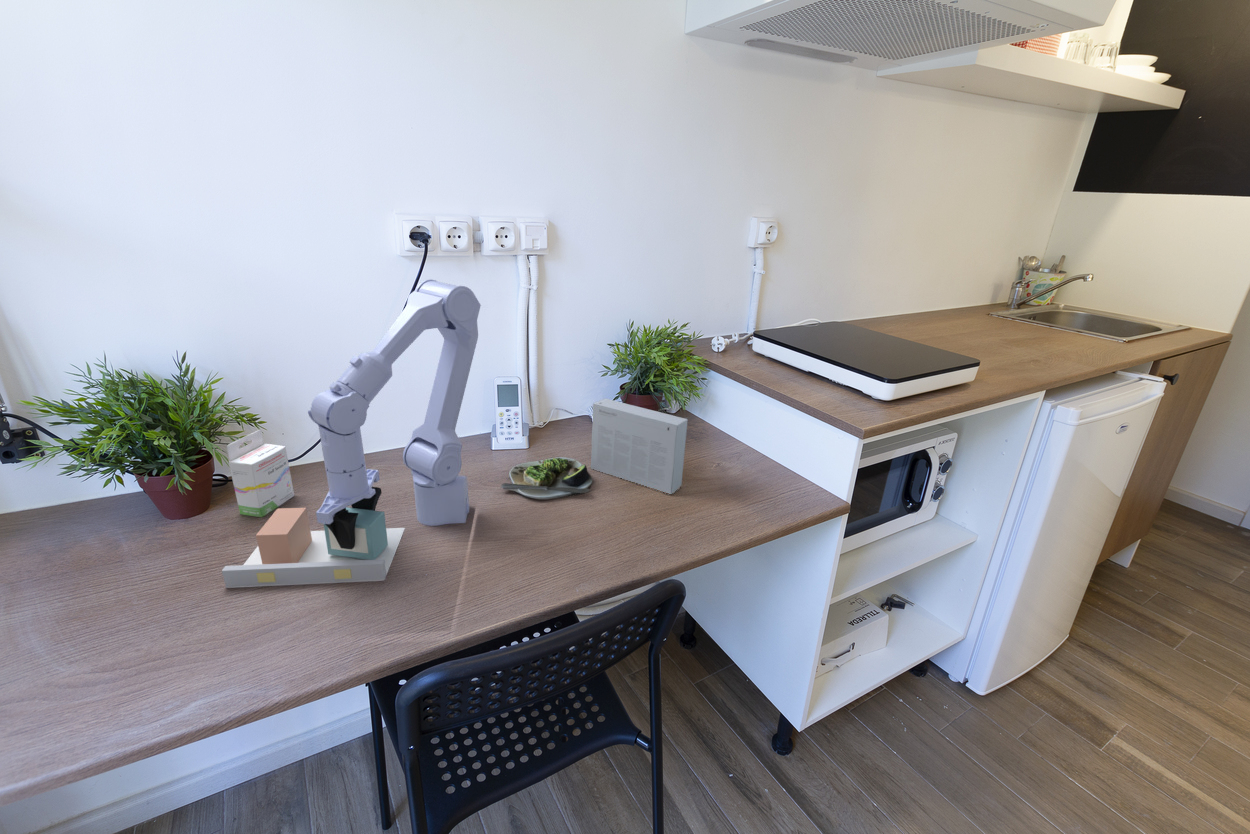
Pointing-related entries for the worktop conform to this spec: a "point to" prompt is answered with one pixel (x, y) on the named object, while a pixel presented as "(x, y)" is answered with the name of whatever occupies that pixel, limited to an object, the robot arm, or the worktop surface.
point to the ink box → (259, 475)
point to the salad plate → (550, 478)
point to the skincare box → (638, 444)
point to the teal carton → (362, 536)
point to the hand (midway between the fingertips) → (356, 538)
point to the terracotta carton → (284, 536)
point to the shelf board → (314, 566)
